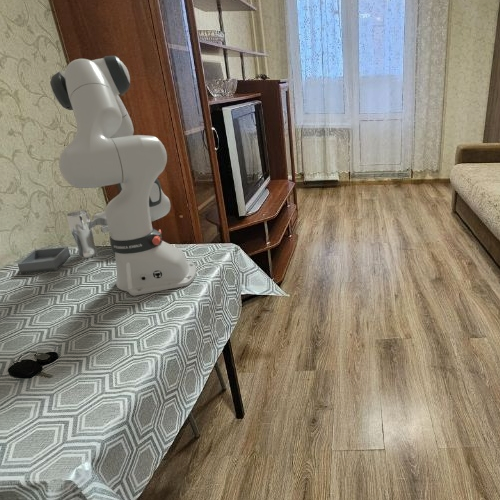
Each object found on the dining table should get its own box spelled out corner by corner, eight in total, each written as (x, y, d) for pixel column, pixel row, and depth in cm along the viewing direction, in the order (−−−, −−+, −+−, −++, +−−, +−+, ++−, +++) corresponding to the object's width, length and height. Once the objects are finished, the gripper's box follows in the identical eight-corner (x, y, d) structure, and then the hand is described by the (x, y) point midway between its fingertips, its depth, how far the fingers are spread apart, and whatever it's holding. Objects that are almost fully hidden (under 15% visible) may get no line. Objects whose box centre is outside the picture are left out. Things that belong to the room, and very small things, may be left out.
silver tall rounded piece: (84, 250, 132) (73, 209, 126) (103, 250, 131) (92, 209, 125) (73, 259, 126) (60, 216, 120) (92, 259, 124) (80, 215, 118)
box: (70, 255, 129) (67, 246, 127) (57, 270, 118) (53, 260, 117) (37, 259, 128) (34, 249, 127) (21, 274, 118) (17, 264, 117)
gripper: (114, 204, 142) (78, 214, 133) (144, 211, 129) (107, 223, 120) (117, 219, 145) (83, 231, 135) (147, 228, 132) (112, 242, 122)
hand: (94, 227), depth 128 cm, fingers open, 8 cm apart
